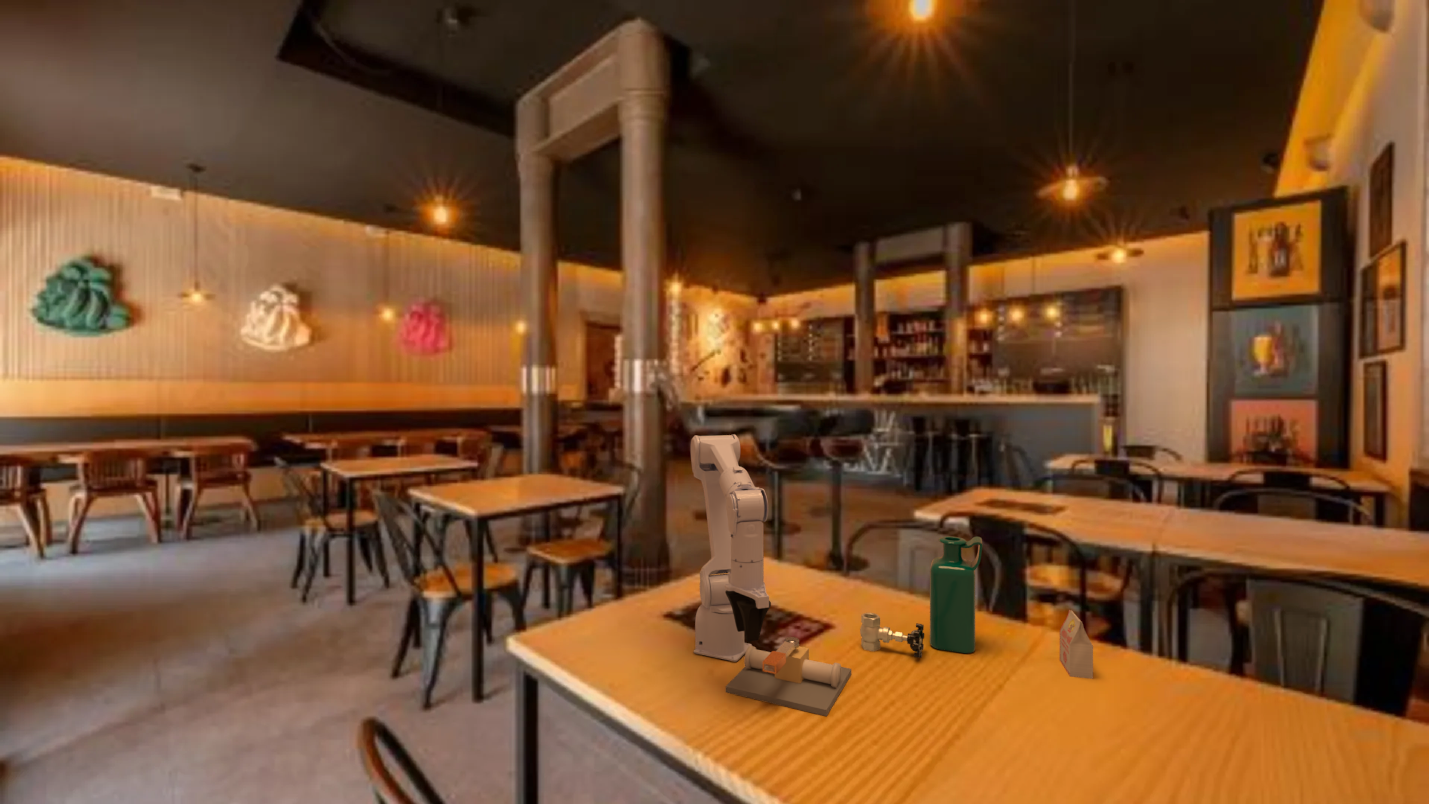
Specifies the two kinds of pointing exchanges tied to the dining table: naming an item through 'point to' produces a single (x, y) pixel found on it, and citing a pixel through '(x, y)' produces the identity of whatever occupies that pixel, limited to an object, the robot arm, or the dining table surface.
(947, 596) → the pitcher
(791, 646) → the valve lever
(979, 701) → the dining table surface
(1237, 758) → the dining table surface
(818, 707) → the pipe board
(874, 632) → the valve
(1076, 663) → the milk carton
